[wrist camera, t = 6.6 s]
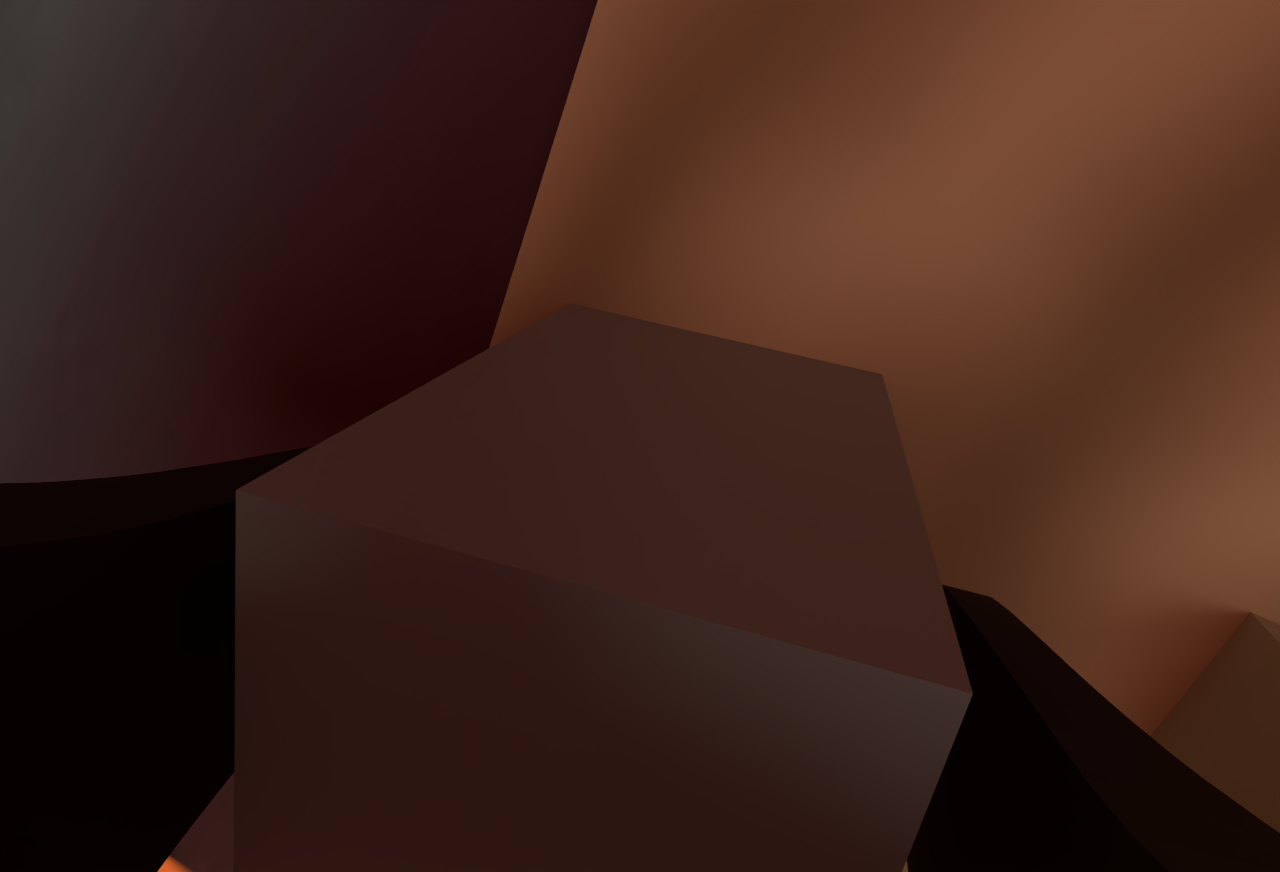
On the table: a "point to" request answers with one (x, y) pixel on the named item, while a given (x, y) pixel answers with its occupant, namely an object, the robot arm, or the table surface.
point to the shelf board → (974, 274)
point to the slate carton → (595, 620)
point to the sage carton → (1235, 720)
